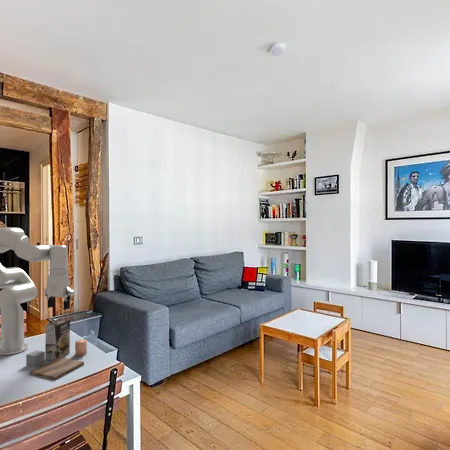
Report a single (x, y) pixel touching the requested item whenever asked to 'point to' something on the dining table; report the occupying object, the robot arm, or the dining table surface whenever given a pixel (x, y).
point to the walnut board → (57, 368)
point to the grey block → (35, 358)
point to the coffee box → (57, 339)
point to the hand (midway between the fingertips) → (58, 308)
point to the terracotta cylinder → (81, 347)
